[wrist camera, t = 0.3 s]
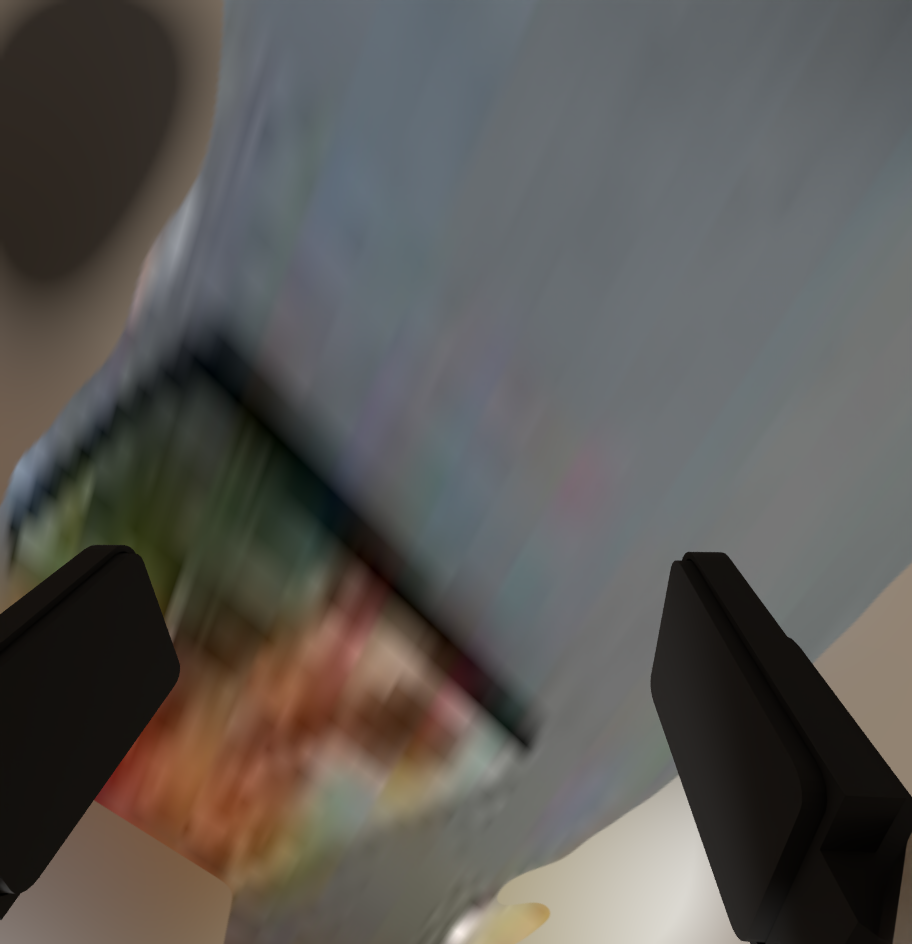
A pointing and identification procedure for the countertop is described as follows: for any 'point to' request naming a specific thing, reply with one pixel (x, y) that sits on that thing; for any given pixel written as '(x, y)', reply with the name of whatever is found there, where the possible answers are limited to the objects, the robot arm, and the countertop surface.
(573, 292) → the countertop surface
